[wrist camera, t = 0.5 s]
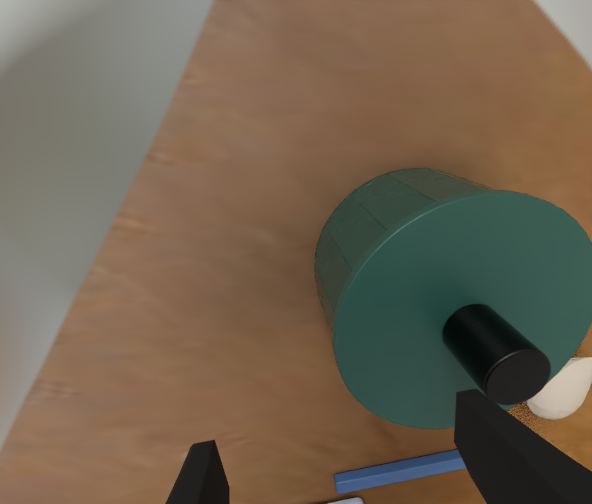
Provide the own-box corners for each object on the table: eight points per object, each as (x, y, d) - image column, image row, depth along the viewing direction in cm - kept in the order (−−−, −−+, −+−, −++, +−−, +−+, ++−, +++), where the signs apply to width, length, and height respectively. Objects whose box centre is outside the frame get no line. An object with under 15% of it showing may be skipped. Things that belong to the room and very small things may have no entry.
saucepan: (484, 319, 22) (560, 392, 17) (324, 349, 21) (349, 433, 16) (499, 154, 18) (605, 177, 13) (303, 184, 18) (327, 223, 12)
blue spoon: (527, 459, 28) (536, 472, 27) (337, 498, 27) (340, 513, 26) (534, 418, 26) (544, 430, 25) (331, 459, 25) (334, 473, 24)
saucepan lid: (556, 386, 17) (636, 461, 14) (339, 428, 17) (364, 518, 13) (600, 164, 13) (730, 189, 10) (314, 211, 13) (340, 255, 9)
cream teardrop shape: (498, 376, 24) (524, 406, 22) (563, 327, 23) (598, 353, 21) (529, 407, 25) (557, 438, 23) (592, 363, 24) (627, 390, 22)
